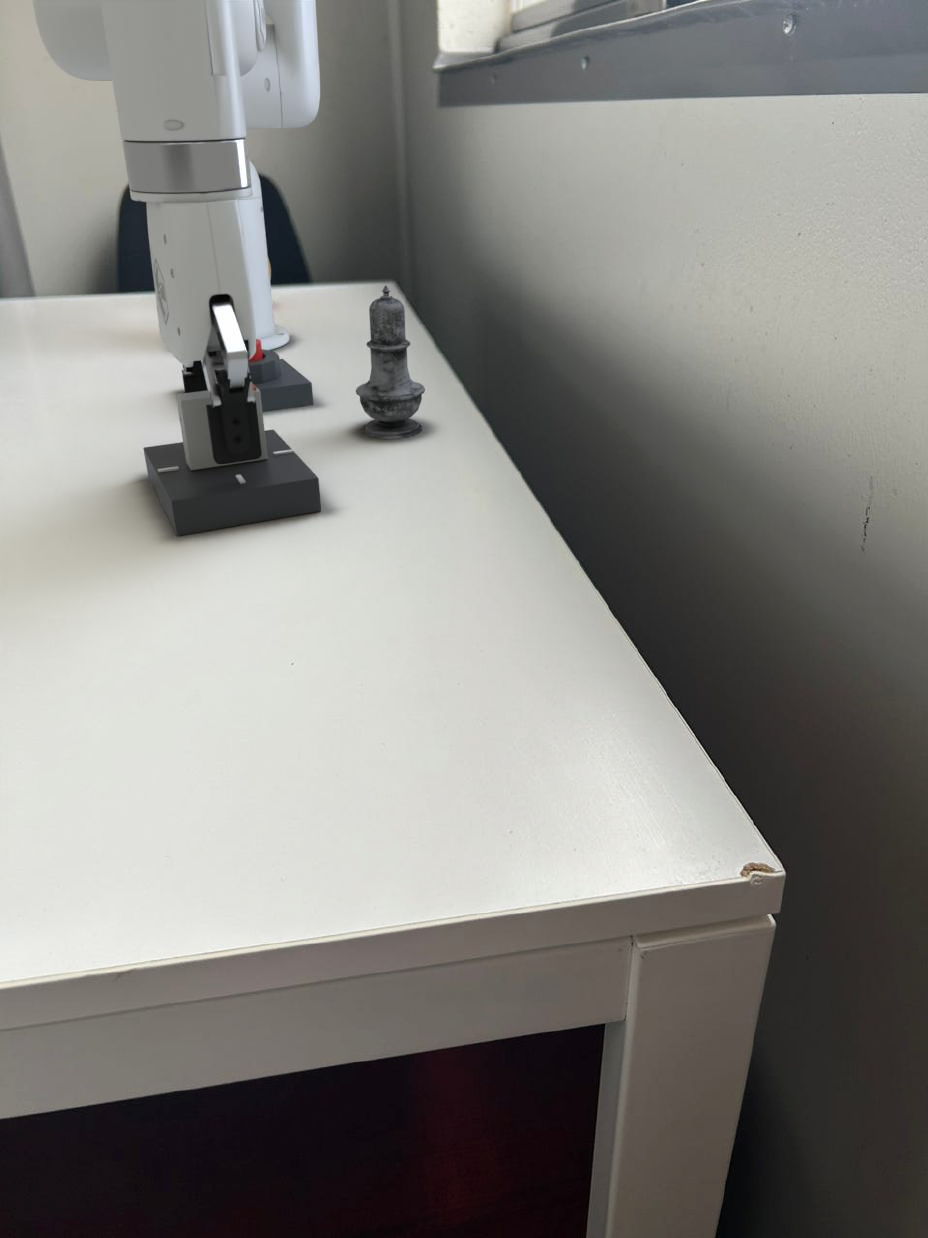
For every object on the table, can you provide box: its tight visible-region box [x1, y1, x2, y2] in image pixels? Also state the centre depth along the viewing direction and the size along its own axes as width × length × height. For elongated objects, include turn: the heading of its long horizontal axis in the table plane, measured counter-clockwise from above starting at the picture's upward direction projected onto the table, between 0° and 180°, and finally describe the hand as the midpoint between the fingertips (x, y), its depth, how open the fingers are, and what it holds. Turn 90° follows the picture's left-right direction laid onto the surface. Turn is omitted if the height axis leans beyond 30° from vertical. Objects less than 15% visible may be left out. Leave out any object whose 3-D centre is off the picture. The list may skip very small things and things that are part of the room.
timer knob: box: [175, 383, 268, 470], centre depth 70 cm, size 6×2×5 cm, turn 115°
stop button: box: [248, 339, 263, 362], centre depth 92 cm, size 4×4×2 cm
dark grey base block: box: [143, 429, 322, 537], centre depth 72 cm, size 12×10×3 cm
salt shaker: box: [355, 285, 426, 440], centre depth 82 cm, size 6×6×12 cm
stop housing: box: [181, 349, 314, 413], centre depth 93 cm, size 10×10×4 cm
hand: (224, 441), depth 70 cm, fingers open, 7 cm apart
